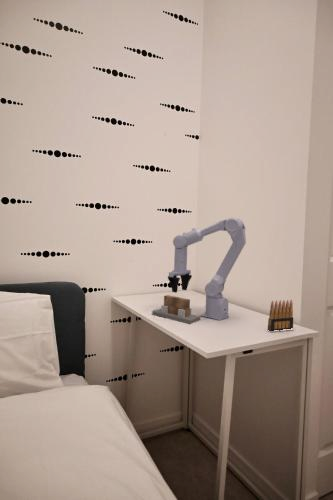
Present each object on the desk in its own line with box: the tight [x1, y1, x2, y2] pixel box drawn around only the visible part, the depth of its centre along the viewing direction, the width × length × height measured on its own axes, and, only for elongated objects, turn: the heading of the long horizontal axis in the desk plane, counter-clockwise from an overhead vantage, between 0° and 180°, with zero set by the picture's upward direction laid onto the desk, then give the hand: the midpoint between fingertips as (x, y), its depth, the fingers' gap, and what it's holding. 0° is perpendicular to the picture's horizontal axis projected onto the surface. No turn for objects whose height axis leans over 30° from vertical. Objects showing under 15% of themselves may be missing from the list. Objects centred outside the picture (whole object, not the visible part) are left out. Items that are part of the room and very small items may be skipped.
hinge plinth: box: [151, 304, 202, 325], centre depth 136 cm, size 20×8×4 cm, turn 52°
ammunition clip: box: [267, 299, 294, 332], centre depth 122 cm, size 11×2×12 cm, turn 110°
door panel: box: [163, 294, 191, 317], centre depth 136 cm, size 12×3×7 cm, turn 52°
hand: (179, 291), depth 146 cm, fingers open, 7 cm apart
